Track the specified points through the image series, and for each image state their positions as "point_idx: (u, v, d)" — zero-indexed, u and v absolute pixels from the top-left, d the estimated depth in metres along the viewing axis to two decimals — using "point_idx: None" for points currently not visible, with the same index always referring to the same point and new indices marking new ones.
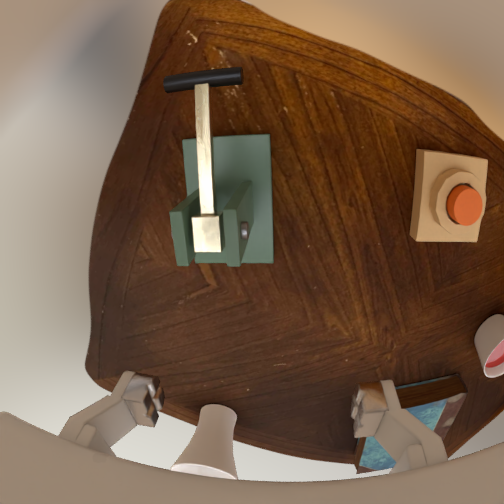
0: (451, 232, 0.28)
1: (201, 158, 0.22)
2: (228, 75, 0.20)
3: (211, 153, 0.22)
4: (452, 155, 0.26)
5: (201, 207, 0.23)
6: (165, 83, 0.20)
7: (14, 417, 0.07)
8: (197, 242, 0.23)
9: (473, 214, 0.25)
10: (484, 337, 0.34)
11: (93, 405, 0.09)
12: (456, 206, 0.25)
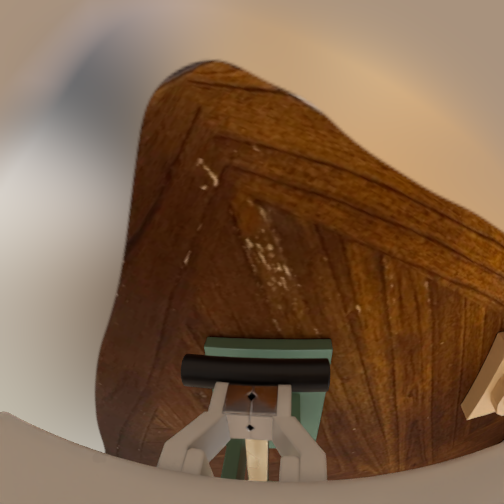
0: None
1: (253, 466, 0.13)
2: (306, 387, 0.11)
3: (267, 462, 0.13)
4: None
5: None
6: (186, 381, 0.12)
7: (14, 417, 0.07)
8: None
9: None
10: None
11: (191, 425, 0.09)
12: None
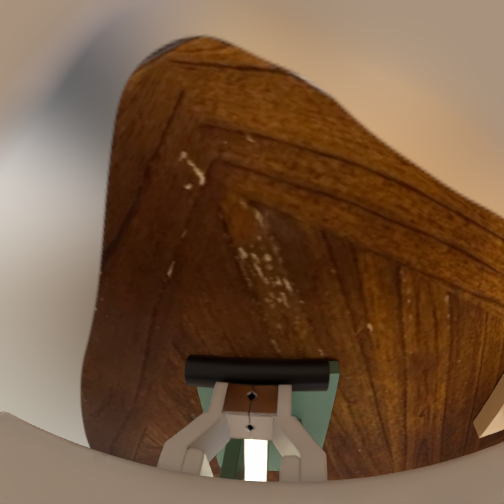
0: None
1: None
2: (307, 383, 0.11)
3: None
4: None
5: None
6: (189, 377, 0.12)
7: (14, 417, 0.07)
8: None
9: None
10: None
11: (191, 425, 0.09)
12: None
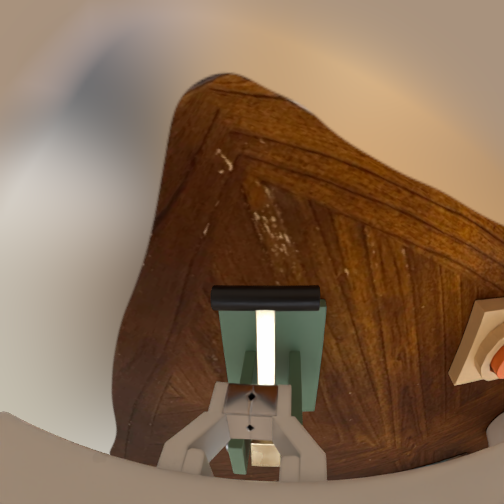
0: (489, 380, 0.23)
1: None
2: (303, 304, 0.16)
3: None
4: None
5: None
6: (214, 303, 0.17)
7: (14, 417, 0.07)
8: (255, 460, 0.19)
9: None
10: (496, 432, 0.29)
11: (191, 425, 0.09)
12: (500, 367, 0.21)
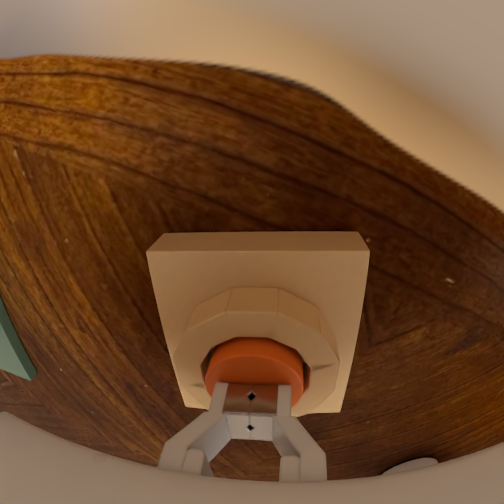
0: None
1: None
2: None
3: None
4: (232, 253, 0.12)
5: None
6: None
7: (14, 417, 0.07)
8: None
9: None
10: None
11: (191, 425, 0.09)
12: (210, 387, 0.12)
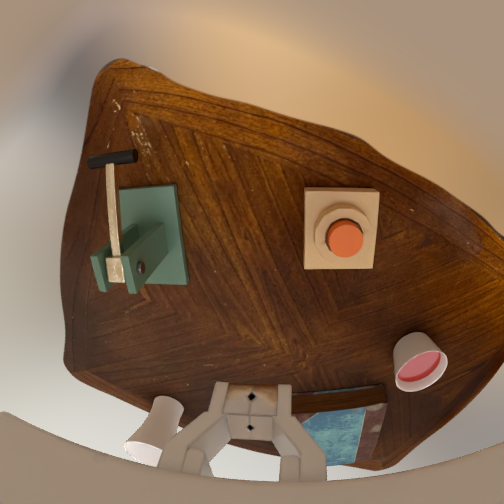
0: (335, 262, 0.36)
1: (110, 217, 0.31)
2: (124, 157, 0.29)
3: (116, 214, 0.31)
4: (336, 192, 0.34)
5: (112, 251, 0.31)
6: (88, 163, 0.29)
7: (14, 417, 0.07)
8: (109, 275, 0.31)
9: (352, 247, 0.34)
10: (397, 353, 0.42)
11: (191, 425, 0.09)
12: (331, 241, 0.34)
